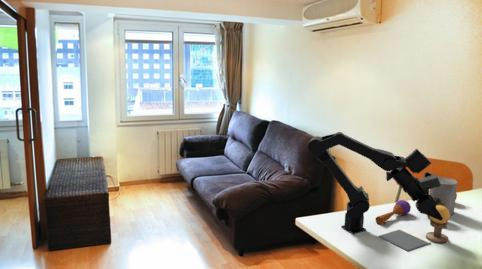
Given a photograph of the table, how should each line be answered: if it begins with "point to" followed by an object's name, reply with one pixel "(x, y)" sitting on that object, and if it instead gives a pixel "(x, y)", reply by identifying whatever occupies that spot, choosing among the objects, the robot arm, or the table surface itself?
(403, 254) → the table surface
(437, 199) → the cup
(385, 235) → the mat
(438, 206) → the rubber ball
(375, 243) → the table surface
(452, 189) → the pillar candle
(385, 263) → the table surface
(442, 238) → the ball tee
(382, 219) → the kendama
